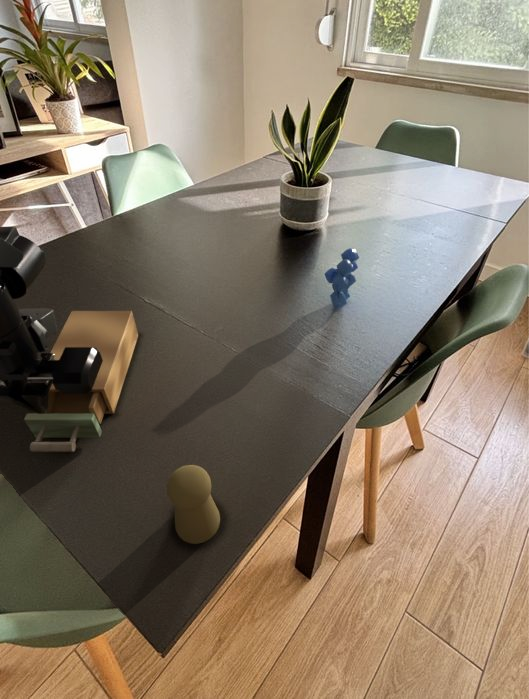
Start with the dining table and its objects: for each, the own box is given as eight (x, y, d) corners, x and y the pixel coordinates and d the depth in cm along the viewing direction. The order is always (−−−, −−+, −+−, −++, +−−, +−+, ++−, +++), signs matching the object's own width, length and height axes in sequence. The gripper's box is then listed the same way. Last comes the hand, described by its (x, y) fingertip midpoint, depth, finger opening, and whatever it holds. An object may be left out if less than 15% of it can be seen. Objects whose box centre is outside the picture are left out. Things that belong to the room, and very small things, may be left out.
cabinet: (113, 413, 70) (104, 389, 66) (45, 413, 70) (31, 389, 66) (138, 335, 84) (131, 310, 79) (81, 335, 84) (71, 310, 79)
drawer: (92, 461, 63) (83, 444, 59) (24, 461, 63) (11, 444, 59) (127, 354, 79) (121, 336, 76) (73, 354, 79) (65, 335, 76)
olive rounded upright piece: (201, 553, 54) (191, 514, 47) (165, 528, 56) (150, 487, 49) (229, 513, 58) (223, 471, 50) (194, 491, 60) (183, 448, 52)
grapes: (329, 282, 97) (335, 234, 89) (358, 289, 95) (367, 240, 87) (313, 312, 89) (319, 262, 81) (345, 320, 87) (353, 270, 79)
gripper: (97, 283, 53) (125, 368, 64) (-51, 282, 53) (2, 368, 64) (68, 343, 45) (105, 429, 56) (-107, 343, 45) (-36, 429, 56)
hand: (43, 411), depth 58 cm, fingers closed
